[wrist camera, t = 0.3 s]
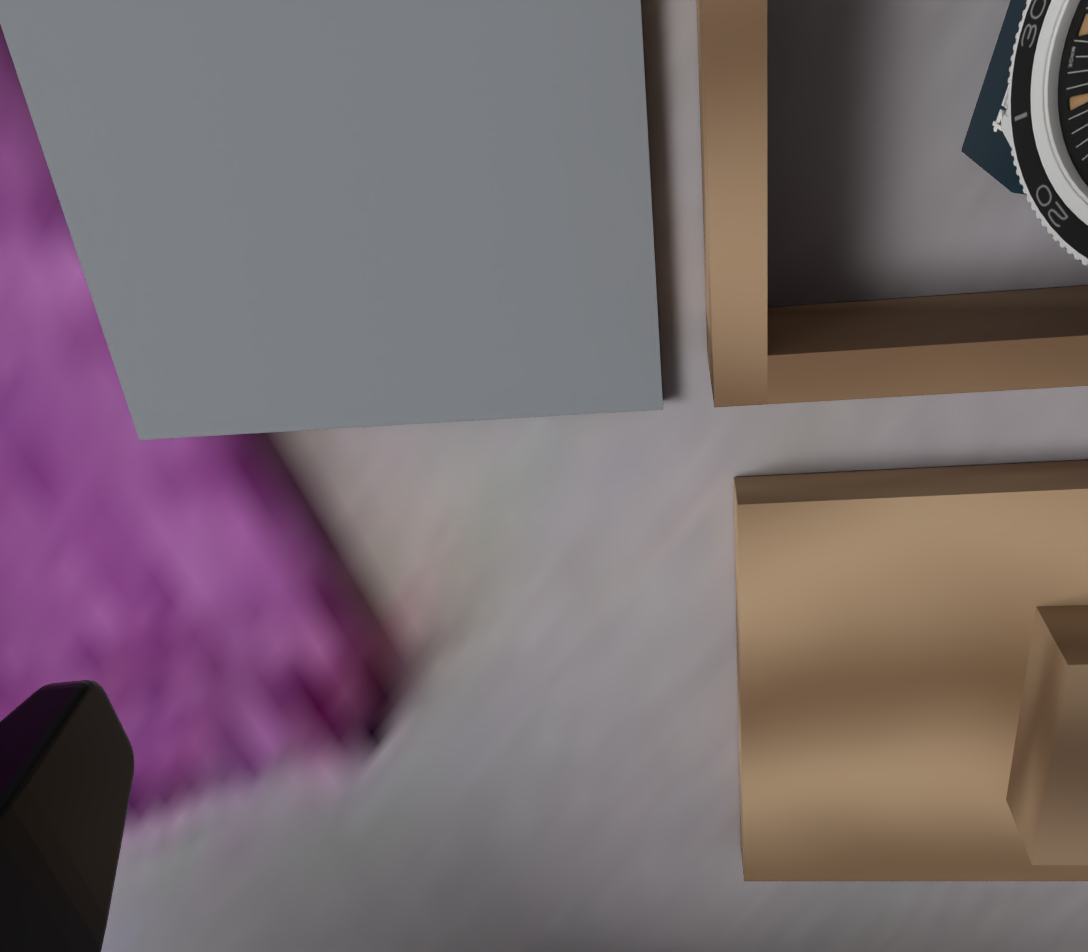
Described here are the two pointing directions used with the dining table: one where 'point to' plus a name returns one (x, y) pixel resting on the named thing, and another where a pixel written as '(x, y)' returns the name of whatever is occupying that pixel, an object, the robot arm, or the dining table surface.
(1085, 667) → the lid
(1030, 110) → the watch
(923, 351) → the wooden rectangular frame
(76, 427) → the dining table surface
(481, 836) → the dining table surface
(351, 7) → the felt mat
